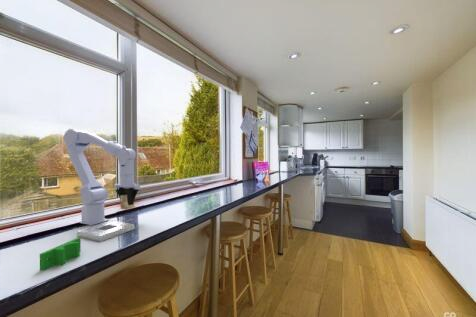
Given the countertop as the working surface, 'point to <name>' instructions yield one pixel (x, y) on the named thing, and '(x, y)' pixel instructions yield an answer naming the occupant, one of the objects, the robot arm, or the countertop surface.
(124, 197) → the maple wedge
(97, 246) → the countertop surface
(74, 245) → the green boxy piece
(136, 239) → the countertop surface
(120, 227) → the grey square plate
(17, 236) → the countertop surface
